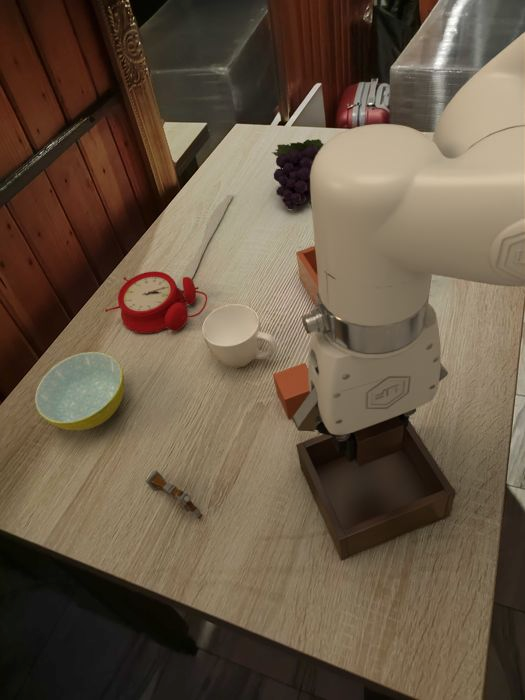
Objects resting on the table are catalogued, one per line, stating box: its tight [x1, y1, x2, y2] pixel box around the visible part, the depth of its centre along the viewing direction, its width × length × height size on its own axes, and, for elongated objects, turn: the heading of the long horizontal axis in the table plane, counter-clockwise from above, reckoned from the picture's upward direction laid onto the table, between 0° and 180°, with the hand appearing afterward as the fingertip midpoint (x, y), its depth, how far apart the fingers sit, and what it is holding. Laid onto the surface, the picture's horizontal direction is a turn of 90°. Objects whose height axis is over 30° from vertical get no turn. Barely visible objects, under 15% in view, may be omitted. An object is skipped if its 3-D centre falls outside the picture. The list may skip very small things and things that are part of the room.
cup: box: [201, 303, 277, 369], centre depth 73 cm, size 8×10×7 cm
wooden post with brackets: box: [145, 469, 204, 520], centre depth 62 cm, size 2×8×4 cm, turn 51°
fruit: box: [272, 138, 325, 211], centre depth 97 cm, size 10×11×15 cm
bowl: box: [34, 351, 125, 431], centre depth 71 cm, size 11×12×6 cm
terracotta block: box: [272, 362, 310, 420], centre depth 68 cm, size 4×4×4 cm
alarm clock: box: [104, 270, 208, 334], centre depth 83 cm, size 10×6×15 cm
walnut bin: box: [295, 420, 457, 561], centre depth 58 cm, size 13×12×6 cm
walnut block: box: [352, 416, 404, 466], centre depth 51 cm, size 4×4×4 cm
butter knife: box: [176, 194, 234, 292], centre depth 95 cm, size 1×27×3 cm
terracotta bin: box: [295, 245, 319, 307], centre depth 80 cm, size 13×12×6 cm
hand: (369, 438), depth 52 cm, fingers closed on walnut block, 4 cm apart
